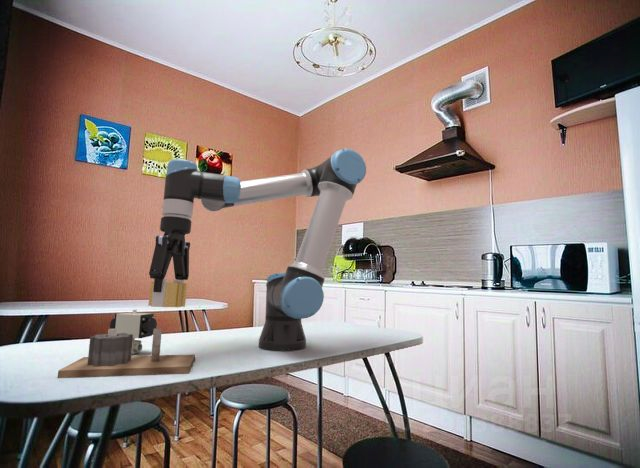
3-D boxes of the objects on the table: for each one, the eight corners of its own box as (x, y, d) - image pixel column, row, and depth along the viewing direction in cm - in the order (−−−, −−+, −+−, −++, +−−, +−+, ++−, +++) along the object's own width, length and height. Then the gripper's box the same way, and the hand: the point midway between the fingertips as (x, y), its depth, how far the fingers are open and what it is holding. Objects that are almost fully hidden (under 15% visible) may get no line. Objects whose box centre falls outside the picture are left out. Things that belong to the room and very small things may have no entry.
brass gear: (160, 304, 95) (162, 281, 96) (190, 306, 94) (192, 283, 95) (142, 305, 87) (145, 281, 88) (174, 307, 86) (177, 283, 87)
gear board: (195, 360, 93) (197, 325, 94) (189, 373, 80) (191, 332, 81) (83, 363, 87) (87, 325, 88) (57, 378, 74) (62, 333, 75)
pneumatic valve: (143, 356, 96) (147, 311, 97) (106, 353, 98) (110, 309, 100) (156, 352, 101) (160, 309, 103) (121, 350, 103) (125, 308, 105)
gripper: (182, 224, 105) (173, 302, 101) (139, 208, 84) (127, 306, 81) (206, 225, 104) (198, 303, 101) (170, 209, 83) (158, 308, 80)
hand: (167, 305), depth 91 cm, fingers closed on brass gear, 8 cm apart
